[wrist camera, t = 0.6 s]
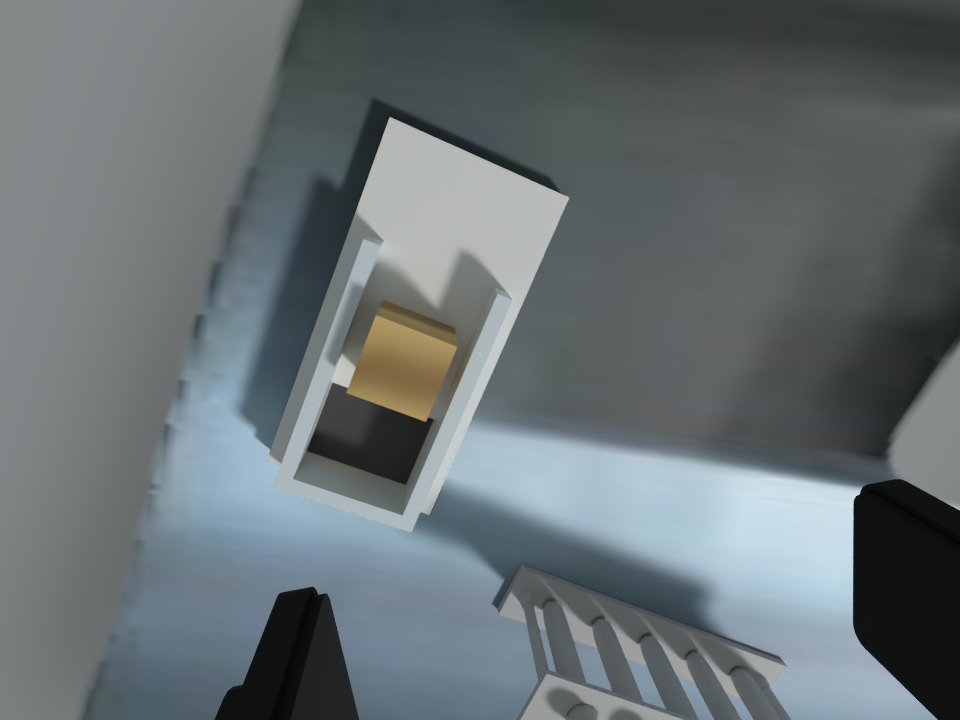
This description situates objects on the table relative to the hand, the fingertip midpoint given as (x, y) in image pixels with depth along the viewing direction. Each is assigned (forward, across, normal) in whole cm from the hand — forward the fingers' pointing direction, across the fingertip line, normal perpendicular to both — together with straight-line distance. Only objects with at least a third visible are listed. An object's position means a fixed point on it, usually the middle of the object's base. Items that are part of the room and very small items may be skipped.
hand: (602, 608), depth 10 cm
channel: (+32, +4, 0) cm, 32 cm away
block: (+30, +5, +1) cm, 31 cm away
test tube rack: (+33, -10, +29) cm, 45 cm away
